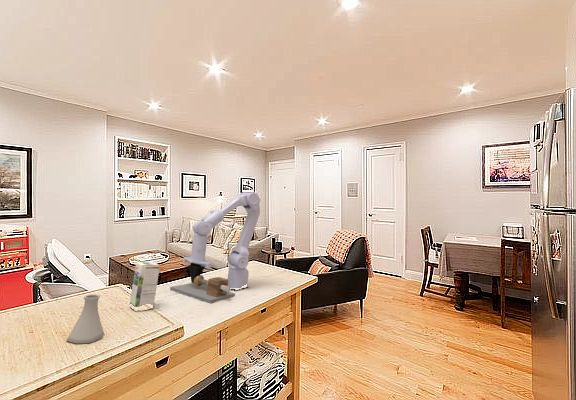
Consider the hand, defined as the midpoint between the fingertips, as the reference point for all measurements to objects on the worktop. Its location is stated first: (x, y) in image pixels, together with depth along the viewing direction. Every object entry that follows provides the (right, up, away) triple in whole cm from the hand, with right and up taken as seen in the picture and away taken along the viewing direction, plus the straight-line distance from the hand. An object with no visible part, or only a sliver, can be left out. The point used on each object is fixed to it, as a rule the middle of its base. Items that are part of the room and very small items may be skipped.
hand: (194, 282), depth 118 cm
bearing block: (+11, -3, -6) cm, 13 cm away
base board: (+4, -4, -3) cm, 6 cm away
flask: (-10, +1, -50) cm, 51 cm away
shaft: (+9, -2, -5) cm, 10 cm away
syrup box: (-8, -1, -26) cm, 28 cm away
